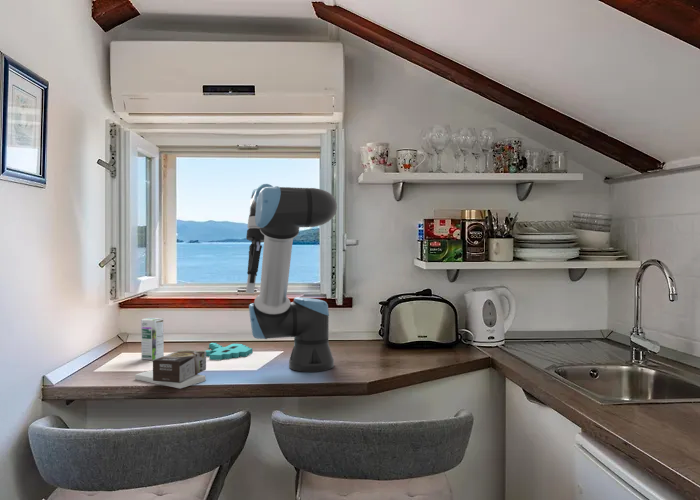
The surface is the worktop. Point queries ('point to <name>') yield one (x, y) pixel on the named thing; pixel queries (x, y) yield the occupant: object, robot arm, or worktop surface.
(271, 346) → the worktop surface
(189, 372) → the coffee box
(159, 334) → the syrup box
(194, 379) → the board
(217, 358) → the alien figure
